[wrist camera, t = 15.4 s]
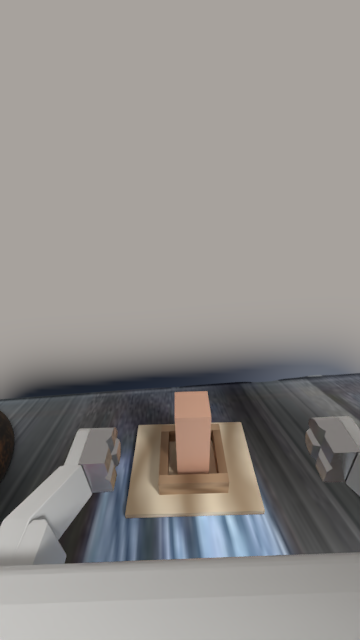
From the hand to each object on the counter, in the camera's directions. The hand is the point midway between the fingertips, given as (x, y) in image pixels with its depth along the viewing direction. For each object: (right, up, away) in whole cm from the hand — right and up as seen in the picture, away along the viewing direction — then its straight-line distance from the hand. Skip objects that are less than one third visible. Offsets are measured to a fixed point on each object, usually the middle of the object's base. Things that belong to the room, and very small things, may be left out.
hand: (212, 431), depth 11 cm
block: (+1, -17, +29) cm, 33 cm away
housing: (+1, -18, +29) cm, 34 cm away
